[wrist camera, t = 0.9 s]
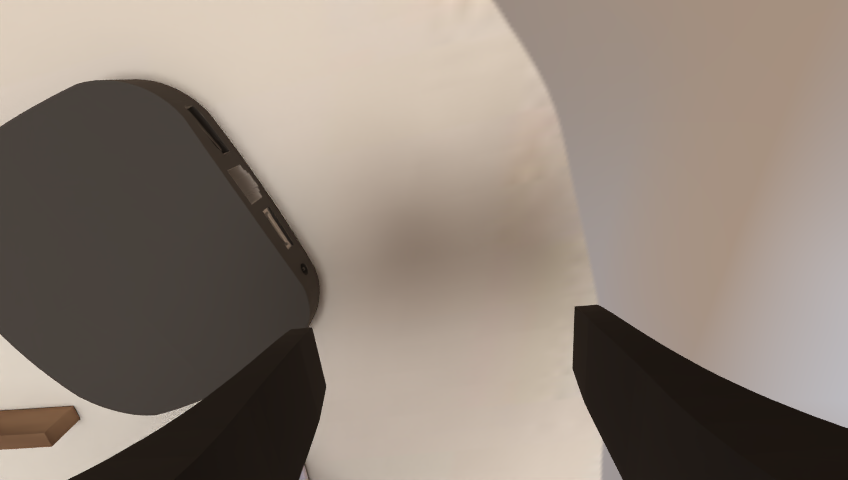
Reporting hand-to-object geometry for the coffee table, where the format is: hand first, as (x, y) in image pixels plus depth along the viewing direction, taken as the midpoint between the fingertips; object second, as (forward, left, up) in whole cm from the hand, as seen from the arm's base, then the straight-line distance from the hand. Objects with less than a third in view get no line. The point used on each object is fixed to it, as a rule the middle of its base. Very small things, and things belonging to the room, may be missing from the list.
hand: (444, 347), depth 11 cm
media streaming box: (0, +15, -10) cm, 18 cm away
